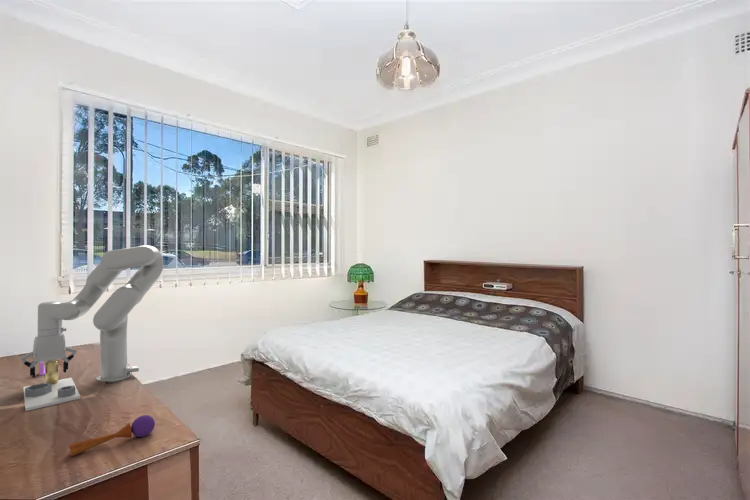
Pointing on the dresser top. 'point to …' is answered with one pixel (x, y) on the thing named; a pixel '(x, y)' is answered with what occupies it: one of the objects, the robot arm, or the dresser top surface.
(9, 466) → the dresser top surface
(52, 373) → the brass pipe fitting
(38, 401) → the fitting board
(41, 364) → the bracket
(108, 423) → the dresser top surface
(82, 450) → the kendama
